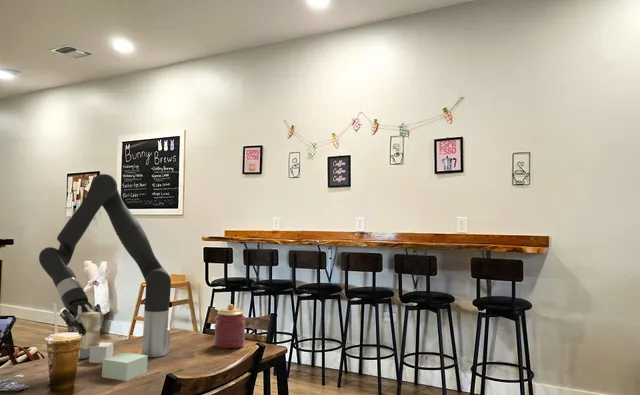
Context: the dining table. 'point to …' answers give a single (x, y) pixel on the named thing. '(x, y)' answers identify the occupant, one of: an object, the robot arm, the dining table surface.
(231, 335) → the canister
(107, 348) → the white cube
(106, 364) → the sage box
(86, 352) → the donut
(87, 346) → the birch block
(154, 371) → the dining table surface
